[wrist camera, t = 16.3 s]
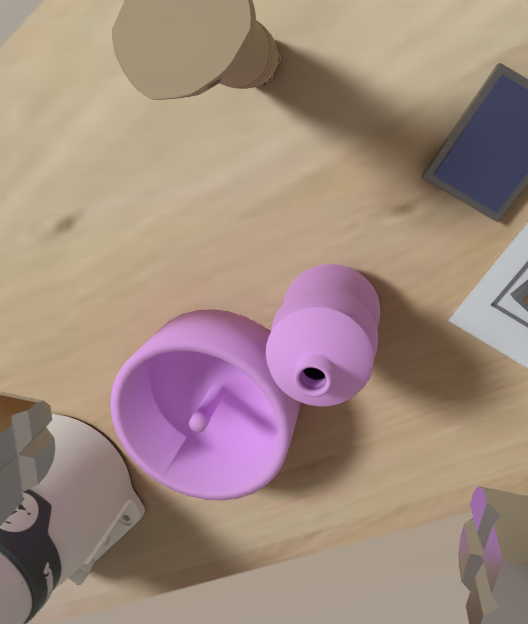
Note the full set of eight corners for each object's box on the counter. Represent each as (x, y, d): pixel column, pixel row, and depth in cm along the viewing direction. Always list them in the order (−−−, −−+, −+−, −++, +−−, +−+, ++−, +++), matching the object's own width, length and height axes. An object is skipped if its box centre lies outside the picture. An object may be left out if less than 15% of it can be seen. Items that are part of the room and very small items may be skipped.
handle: (315, 67, 34) (270, 39, 20) (239, 117, 36) (152, 121, 23) (282, -2, 33) (210, -80, 19) (205, 54, 35) (93, 19, 22)
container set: (220, 477, 50) (169, 592, 38) (114, 369, 48) (24, 455, 36) (430, 343, 40) (449, 443, 28) (306, 198, 38) (270, 239, 26)
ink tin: (494, 219, 35) (498, 223, 34) (422, 175, 35) (423, 178, 34) (577, 112, 32) (584, 112, 30) (497, 64, 32) (501, 62, 30)
